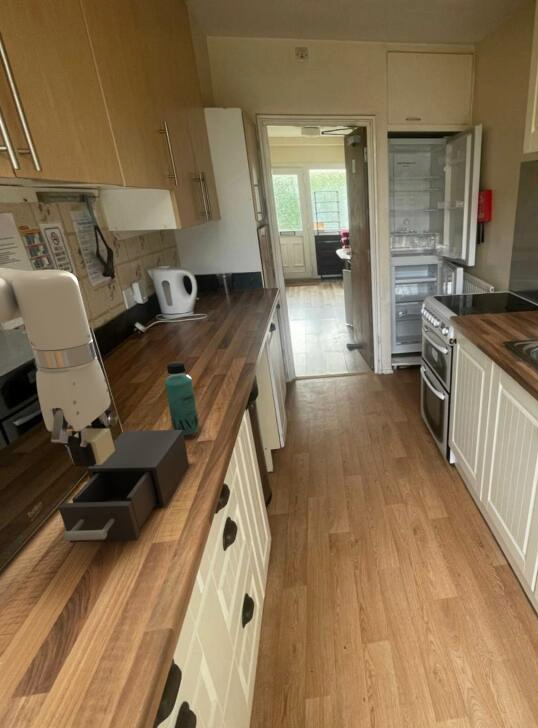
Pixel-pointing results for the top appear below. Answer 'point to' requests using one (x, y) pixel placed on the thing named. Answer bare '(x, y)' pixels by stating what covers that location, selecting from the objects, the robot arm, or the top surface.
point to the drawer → (110, 507)
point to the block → (99, 444)
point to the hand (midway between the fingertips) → (94, 455)
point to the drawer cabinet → (150, 458)
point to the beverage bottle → (181, 399)
